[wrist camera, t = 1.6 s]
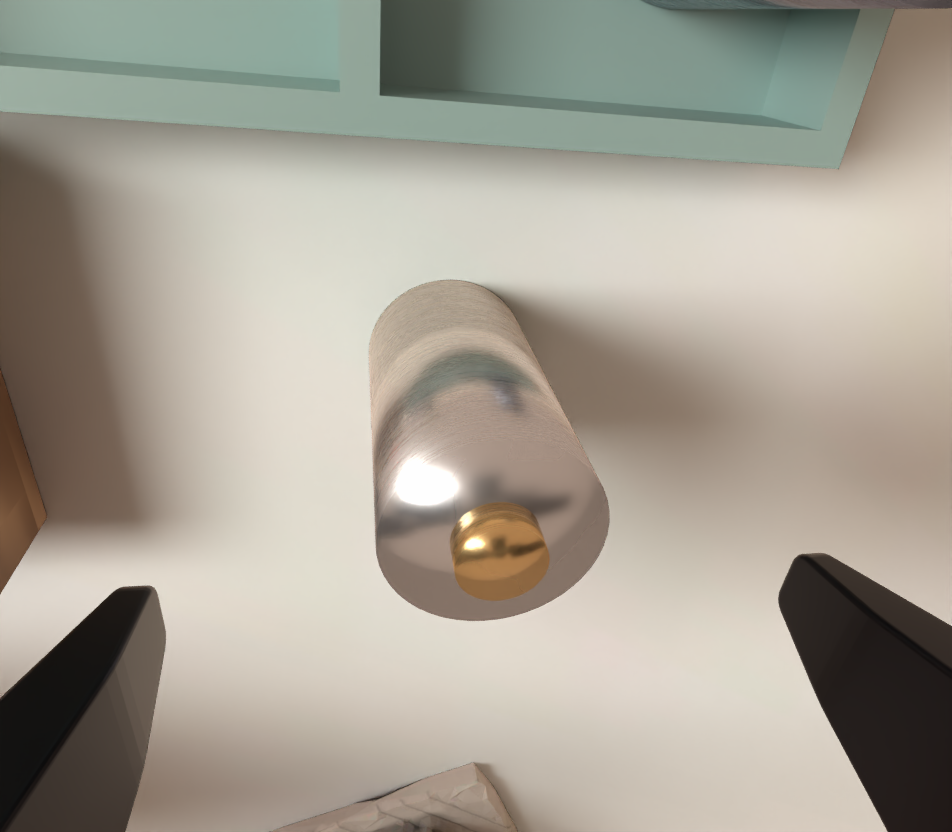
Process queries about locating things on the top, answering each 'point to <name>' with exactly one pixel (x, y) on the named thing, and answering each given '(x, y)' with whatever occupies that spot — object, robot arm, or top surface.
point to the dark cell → (799, 4)
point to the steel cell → (474, 461)
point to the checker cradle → (15, 493)
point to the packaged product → (422, 808)
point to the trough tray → (459, 71)
